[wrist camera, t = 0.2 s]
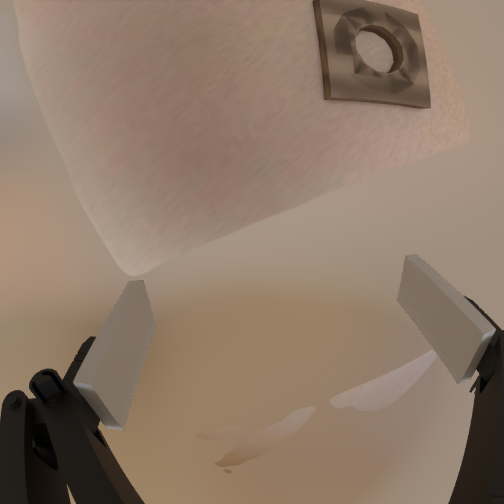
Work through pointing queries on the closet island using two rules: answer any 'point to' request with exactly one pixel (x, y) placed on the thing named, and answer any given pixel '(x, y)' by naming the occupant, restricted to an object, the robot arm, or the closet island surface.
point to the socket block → (352, 65)
